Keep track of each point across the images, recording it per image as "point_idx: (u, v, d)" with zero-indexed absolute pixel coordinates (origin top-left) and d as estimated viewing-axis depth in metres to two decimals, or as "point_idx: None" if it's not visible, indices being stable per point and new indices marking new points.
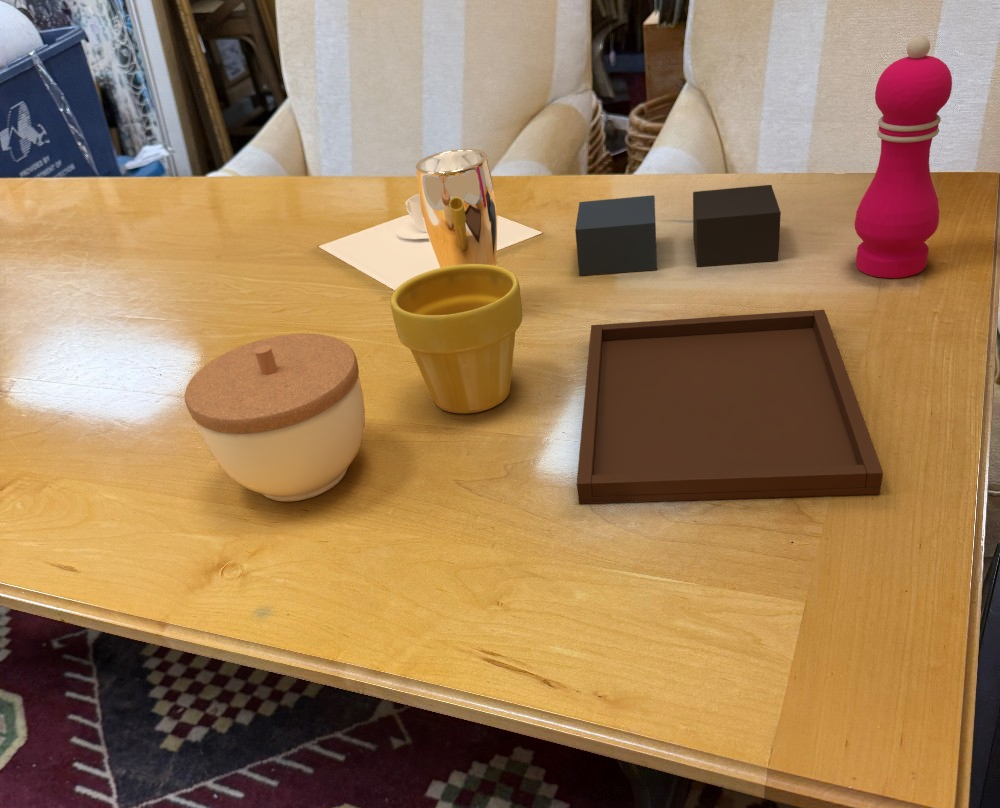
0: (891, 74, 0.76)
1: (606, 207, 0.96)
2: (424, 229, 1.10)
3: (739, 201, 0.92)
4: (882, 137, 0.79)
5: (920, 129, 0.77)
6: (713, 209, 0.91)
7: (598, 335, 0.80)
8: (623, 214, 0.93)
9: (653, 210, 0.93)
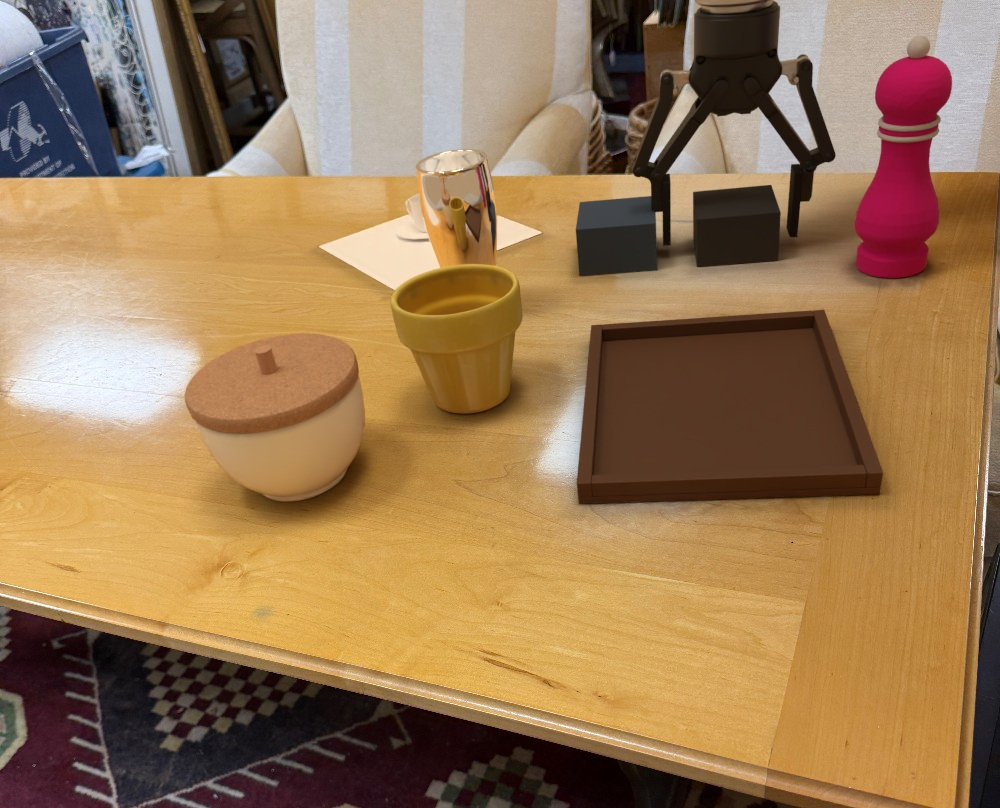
0: (891, 74, 0.76)
1: (606, 207, 0.96)
2: (424, 229, 1.10)
3: (739, 201, 0.92)
4: (882, 137, 0.79)
5: (920, 129, 0.77)
6: (713, 209, 0.91)
7: (598, 335, 0.80)
8: (623, 214, 0.93)
9: None
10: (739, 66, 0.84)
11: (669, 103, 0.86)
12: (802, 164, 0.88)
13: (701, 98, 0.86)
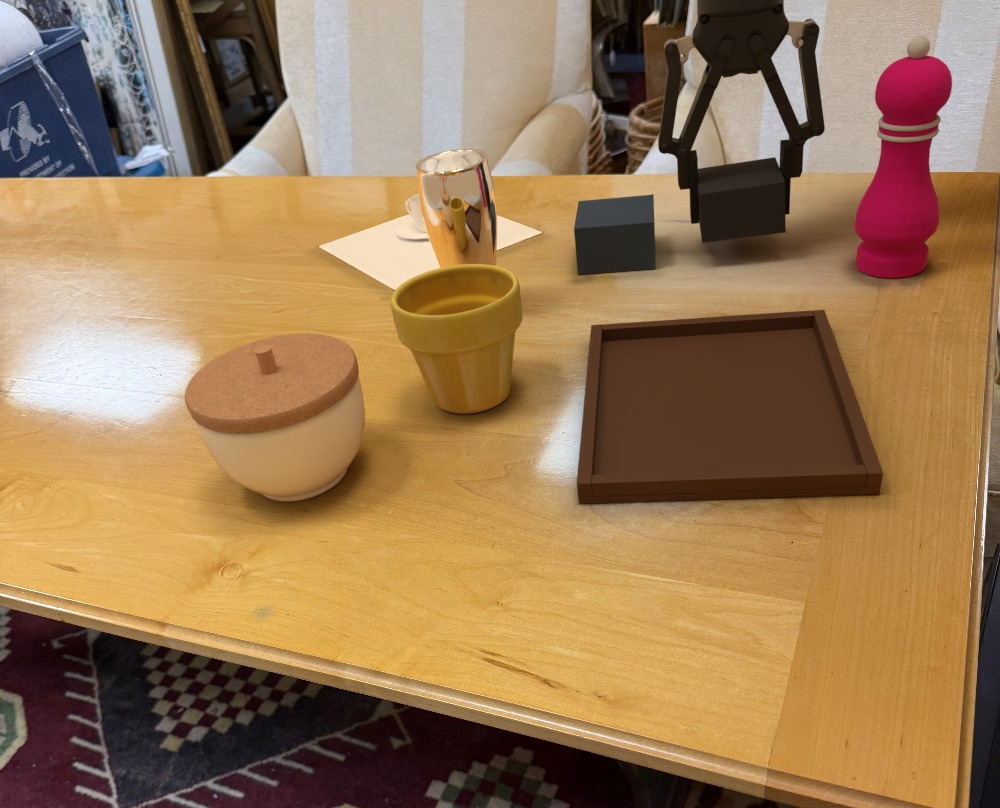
0: (891, 74, 0.76)
1: (605, 206, 0.96)
2: (424, 229, 1.10)
3: (743, 174, 0.90)
4: (882, 137, 0.79)
5: (920, 129, 0.77)
6: (716, 183, 0.89)
7: (598, 335, 0.80)
8: (622, 213, 0.94)
9: (651, 209, 0.93)
10: (744, 24, 0.81)
11: (679, 72, 0.84)
12: (791, 137, 0.87)
13: (706, 59, 0.84)
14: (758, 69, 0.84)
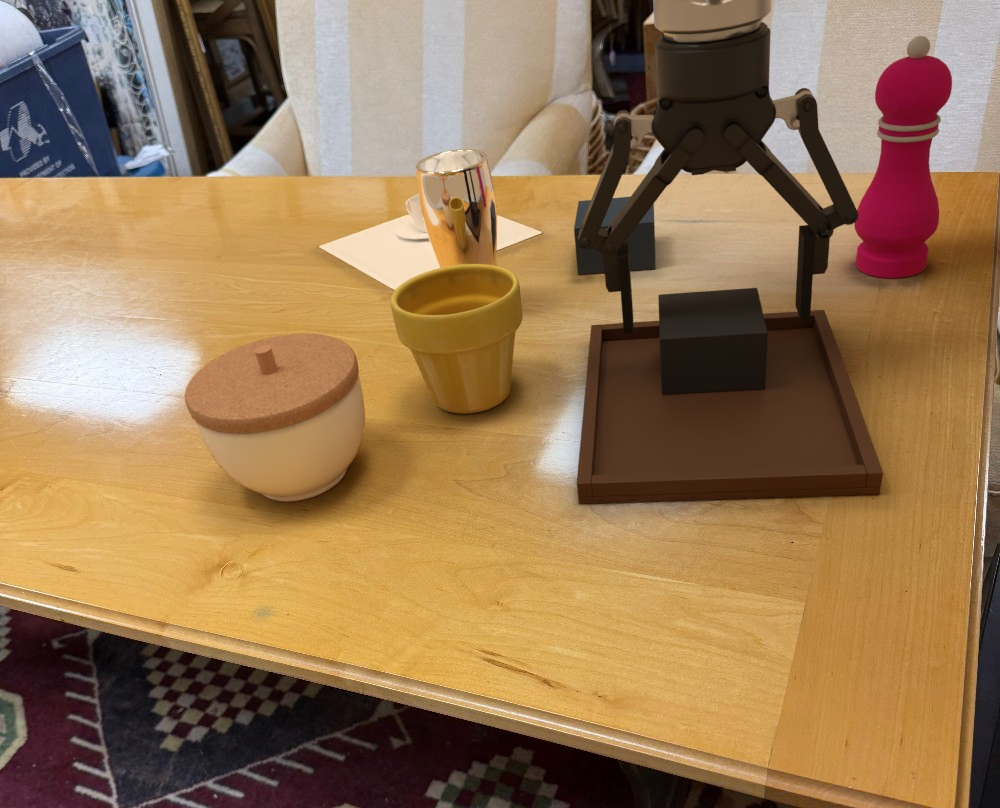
0: (891, 74, 0.76)
1: None
2: (424, 229, 1.10)
3: (716, 313, 0.72)
4: (882, 137, 0.79)
5: (920, 129, 0.77)
6: (681, 324, 0.71)
7: (598, 335, 0.80)
8: None
9: (651, 209, 0.93)
10: (718, 110, 0.62)
11: (625, 158, 0.65)
12: (814, 228, 0.66)
13: (669, 152, 0.65)
14: None
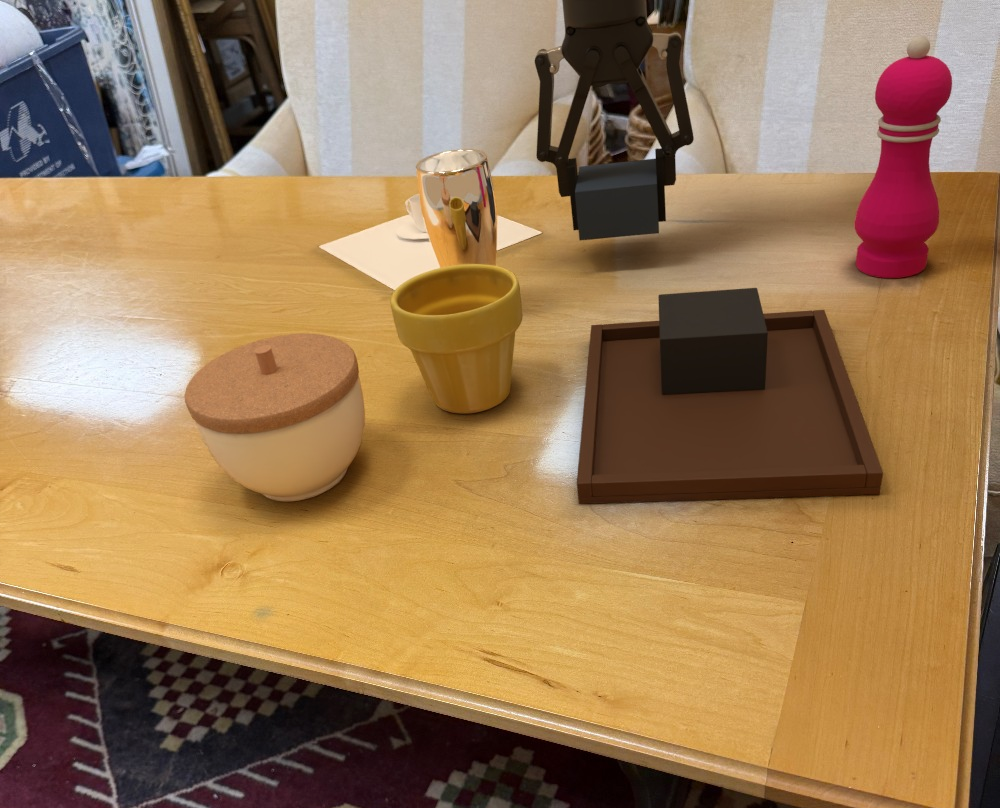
0: (891, 74, 0.76)
1: (606, 170, 0.94)
2: (424, 229, 1.10)
3: (716, 313, 0.72)
4: (882, 137, 0.79)
5: (920, 129, 0.77)
6: (681, 324, 0.71)
7: (598, 335, 0.80)
8: (624, 176, 0.91)
9: (654, 172, 0.91)
10: (609, 36, 0.83)
11: (550, 82, 0.86)
12: (662, 146, 0.88)
13: (575, 70, 0.86)
14: (626, 80, 0.85)
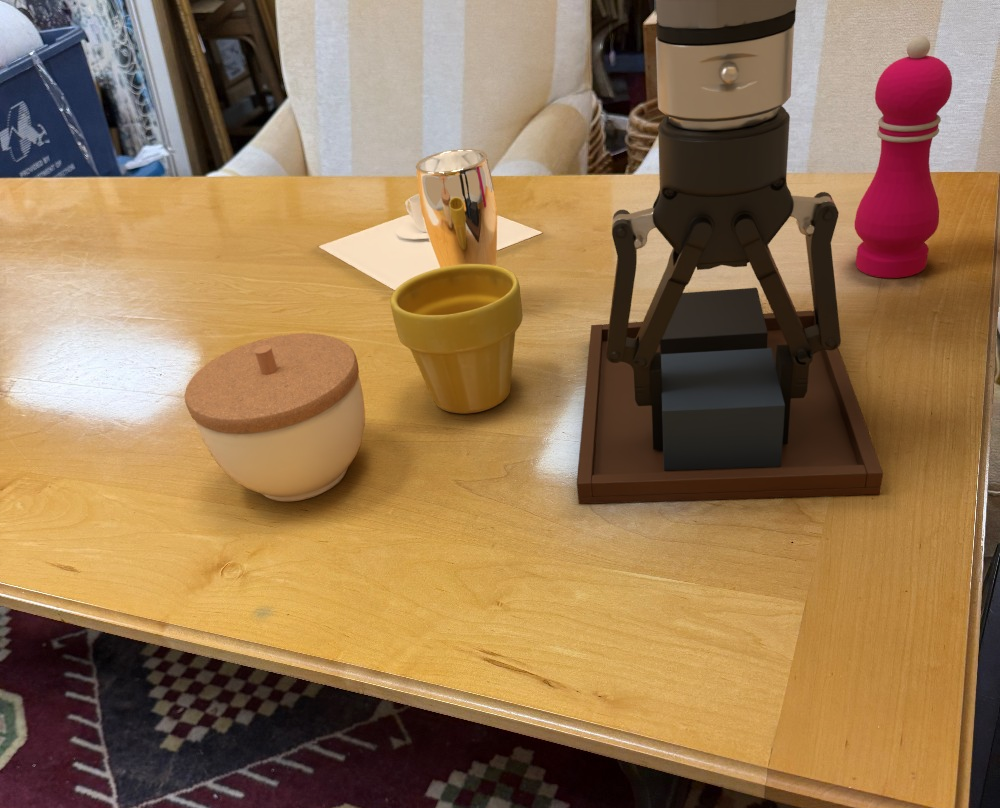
0: (891, 74, 0.76)
1: (702, 367, 0.65)
2: (424, 229, 1.10)
3: (716, 313, 0.72)
4: (882, 137, 0.79)
5: (920, 129, 0.77)
6: (681, 324, 0.71)
7: (598, 335, 0.80)
8: (731, 383, 0.63)
9: (776, 379, 0.63)
10: (728, 201, 0.55)
11: (633, 261, 0.58)
12: (792, 350, 0.60)
13: (672, 245, 0.57)
14: (747, 261, 0.57)
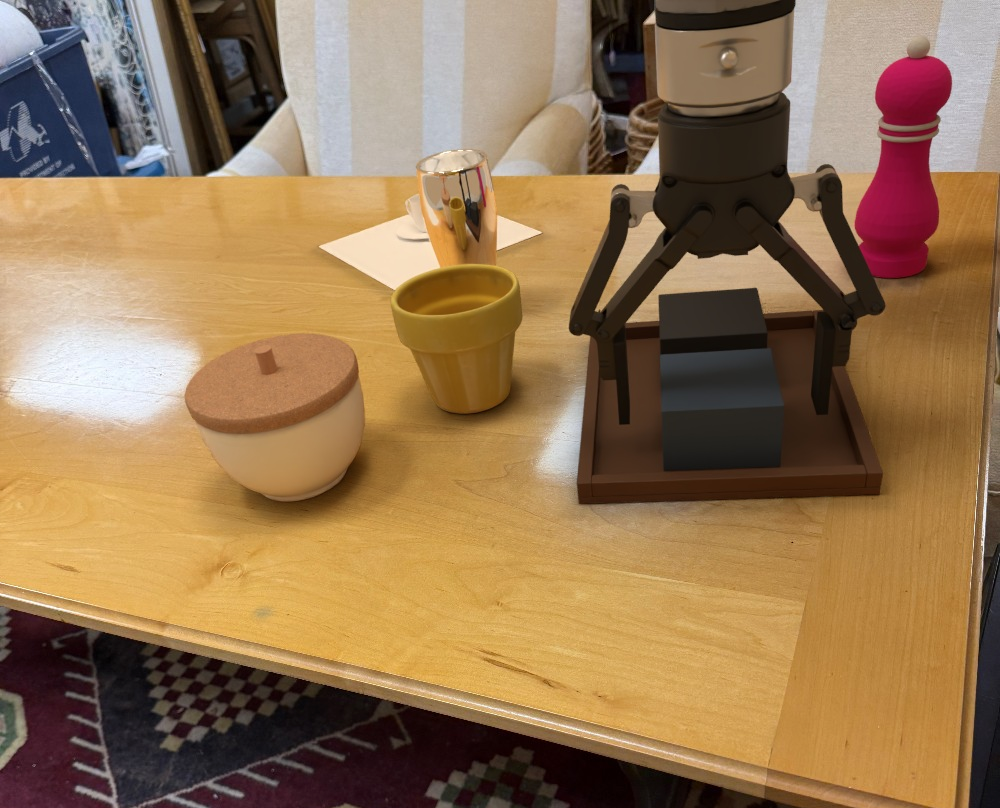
0: (891, 74, 0.76)
1: (701, 367, 0.65)
2: (424, 229, 1.10)
3: (716, 313, 0.72)
4: (882, 137, 0.79)
5: (920, 129, 0.77)
6: (681, 324, 0.71)
7: None
8: (730, 383, 0.63)
9: (775, 379, 0.63)
10: (729, 189, 0.55)
11: (623, 239, 0.57)
12: (835, 318, 0.59)
13: (673, 233, 0.57)
14: None
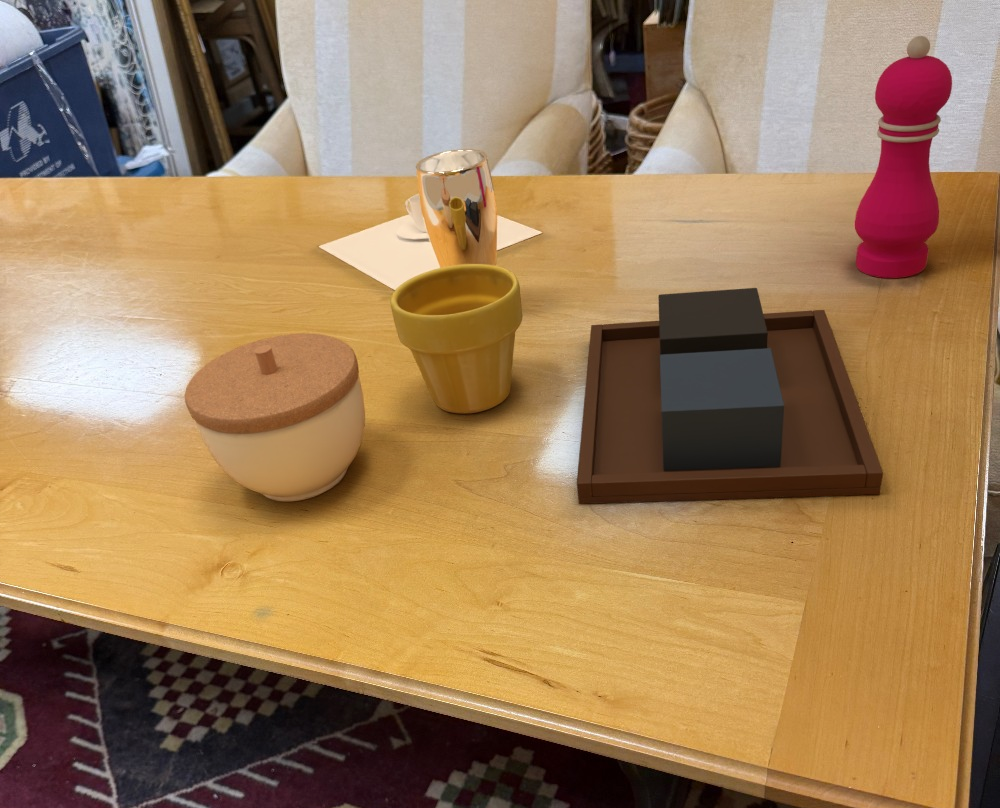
0: (891, 74, 0.76)
1: (701, 367, 0.65)
2: (424, 229, 1.10)
3: (716, 313, 0.72)
4: (882, 137, 0.79)
5: (920, 129, 0.77)
6: (681, 324, 0.71)
7: (598, 335, 0.80)
8: (730, 383, 0.63)
9: (775, 379, 0.63)
10: None
11: None
12: None
13: None
14: None
